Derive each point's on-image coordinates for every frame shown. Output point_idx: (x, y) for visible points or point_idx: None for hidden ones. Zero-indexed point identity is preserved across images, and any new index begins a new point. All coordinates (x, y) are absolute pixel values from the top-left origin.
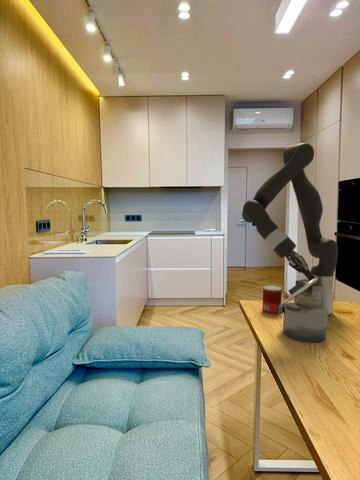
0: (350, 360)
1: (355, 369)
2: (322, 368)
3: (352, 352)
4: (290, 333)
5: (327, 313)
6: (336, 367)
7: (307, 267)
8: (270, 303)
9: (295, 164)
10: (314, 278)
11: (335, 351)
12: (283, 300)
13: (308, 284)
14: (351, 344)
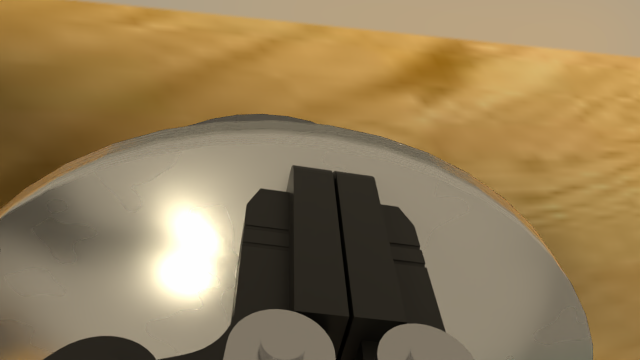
0: (481, 61)
1: (559, 49)
2: (629, 180)
3: (383, 44)
4: None
5: (288, 119)
6: (586, 123)
7: (301, 345)
8: None
9: None
10: (421, 172)
11: (415, 122)
12: None
13: (559, 265)
14: (274, 38)
